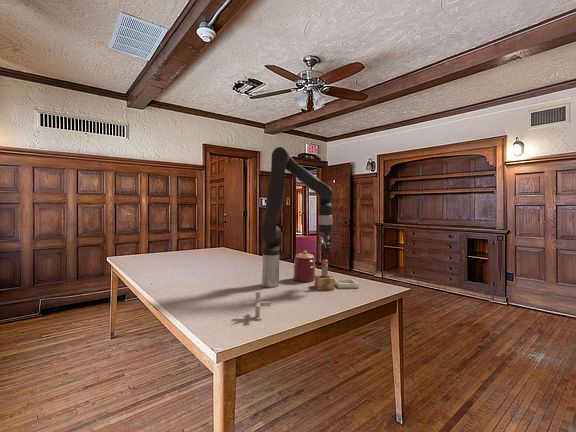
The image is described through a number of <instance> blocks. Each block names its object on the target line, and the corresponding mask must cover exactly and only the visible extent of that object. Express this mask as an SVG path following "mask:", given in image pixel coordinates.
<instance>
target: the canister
mask: <svg viewBox="0 0 576 432" xmlns="http://www.w3.org/2000/svg"><path fill="white" fill-rule="evenodd" d="M293 261H294V264H293V280H294V281H295V282H300V283H311V282H315V275H316V265H315V263H316V259H315V256H314V255H313V254H311V253H308V251H307V250H303V251H302V253H297V254H296V255H295V258H294V259H293Z"/></svg>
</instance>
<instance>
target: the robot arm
mask: <svg viewBox="0 0 576 432" xmlns="http://www.w3.org/2000/svg"><path fill="white" fill-rule="evenodd" d="M286 171H288V172H289V173H291V174H292V175H293V176H295V178H297V180H298V181H300V182H301V183H302V184H303V185H304V186H306V187H307V188H309V189H310V190H312V191H313V192H315V194H317V195H318V196H319V197H318V201H319V210H318V211H319V214H318V215H319V216H318V232H319V234H320V238H319V239H320V242H319V244H320V247H321V249H320V250H321V251H320V252H321V253H324V254H325V256H329V255H330V248H331V247H332V236H331V235H330V234H331V233H333V228H334V227H333V225H334V224H333V220H334V219H333V206H332V201H333V200H332V198H333V196H334V191H333V189H332V187H330V186H329V185H328V184H326V183H325V182H323V181H322V180H320V179H319V178H318V177H317V176H316V175H314V174H313V173H312V172H311V171H309V170H307V169H306V168H304V167H303V166H301V165H300V164H299V163H298V162H296V161H295V160H294V158H293V157H292V156H291V155H290V154H289V151H288V150H287V149H286V148H284V147H281V146H280V147H279V146H278V147H276V148H274V150H272V152H271V168H270V176H269V181H268V186H267V192H266V200H265V208H264V209H265V210H264V218H263V222H262V227H261V230H260V236H261V237H260V238H261V239H262V241H263V242H265V245H264V247H263V249H262V266H261V267H262V269H261V286H262V287H265V288H276V287H279V286H280V251H281V248H282V231H281V228H280V227H279V226H278V225H277V223H278V217H279V214H280V211H281V210H282V206H283V203H284V199H285V191H286V190H285V186H286V185H285V183H286V181H285V173H286Z"/></svg>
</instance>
